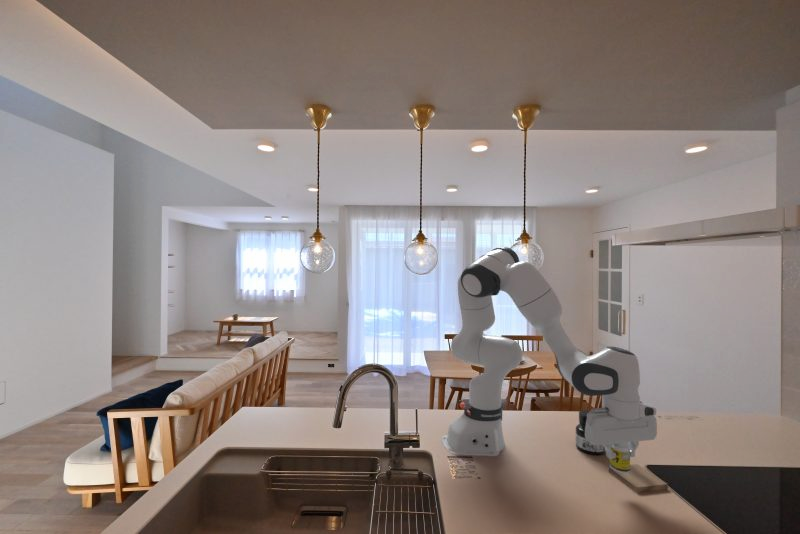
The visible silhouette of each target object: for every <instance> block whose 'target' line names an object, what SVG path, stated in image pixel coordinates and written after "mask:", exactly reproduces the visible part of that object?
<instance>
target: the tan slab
mask: <svg viewBox="0 0 800 534" xmlns="http://www.w3.org/2000/svg"><path fill="white" fill-rule="evenodd" d="M608 473H610V474H611V475H612V476H614V477H615V478H616V479H617V480H619V481H620V482H622V483H623V484H624V485H626V486H627V487H628V488H630V489H631V490H632V491H634V492H635V493H636V494H639V493H647V492H655V491H656V492H657V491H665V490H669V483H667V482H665V481H664V480H662V479H661V478H660V477H658V476H656V475H655V474H653V473H652V472H650V471H649V470H647V469H645V468H644V467H643V466H641V465H640V464H638V463H634V464H630V472H629V473H620V472H617V471H615V470H613V469H612V468H611V467H610V466H608Z"/></svg>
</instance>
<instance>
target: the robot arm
mask: <svg viewBox="0 0 800 534" xmlns="http://www.w3.org/2000/svg"><path fill="white" fill-rule="evenodd" d="M501 291H502V292H505V293H506V294H507V295H508V296H509V297H510V298H511V299H512V301H513V303H514V305H515V306H516V308H517V309H518V310H519V312H520V313H521V316H523V317H524V318H525V320H526V321H528V323H529V324H530V325H531V326H533V327H534V328H535V329H536V330H537V331H539V333H540V334H541V336H543V338H544V340H545V342H546V343H547V345H548V346H549V347H550V349H551V351H552V353H553V354H554V357H555V361H556V368H557V371H558V373H559V375H560V376H561V378H563V379H564V380H565V381H566V382H568V383H569V384H570V385H571V386H572V387H573V388H574V389H575V390H576V391H577V392H579V393H580V394H583V395H586V396H590V397H593V396H594V397H595V396H601V399H602V400H601V407H600V408H592V409H591V410H590V412H589V413H588V414H587V420H586V426H585V438H586V439H587V440H588V441H589V442H590V443H592V444H593V445H596V446H597V445H603V446H604V448H605V453H606V454H605V455H606V457H607V459H609V460H610V459H616V453H615V452H613V451H612V449H611V447H613V444H617V443H624V442H629V448H630V458H635V456H636V451H637V449H638V447H639V445H640V442H643V441H644V442H645V441H653V440H655V439H656V438H657V434H658V422H657V418H656V415H657V408H656V407H654V406H652V405H650V404H648V403H645V402H644V401H641V397H640V394H639V389H640V388H639V387H640V385H641V374H640V373H641V372H640V364H639V358H638V357H637V356H636V355H635V354H634V353H633V352H631V351H630V350H627V349H623V348H620V347H618V346H617V347H616V346H606V347H604V349H602V350H599V351H598V352H597V353H595V354H591V355H587V354H586V353H585V352H584V351H581V350H580V349H579V348H577V347H576V346H575V345H574V343H573V342H572V341H571V339H570V337H569V336H568V333H566V331H565V329H564V328H563V326H562V324H561V320H560V319H561V316H562V313H563V306H562V304H561V302H560V299H559V298H558V296H557V294H556V292H555V290H554V289H553V288H552V286H551V285H550V283H549V282H548V281H547V279H546V278H545V277H544V275H542V273H541V272H540V271H539V269H537V268H536V267H535V266H534V265H533V264H531V263H530V262H528V261H526V260H525V261H520V257H519V256H518V254H517V252H516V251H514V250H513V249H512V248H511V247H508V246H499V247H496V248H493V249H492V250H491V251H488V252H486V253H484V254H482V255H481V256H479V257H478V258H477V259H475V260H474V262H472V263H470V264H468V265H467V266H466V267H465V269H463V271H462V272H461V275H460V276H459V278H458V279H457V296H458V303H459V309H460V312H461V313H460V315H461V320H462V327H461V330H460V331H459V332H458V333H457V334H456V335H455V336H454V337H453V338H452V340H451V344H450V349H451V353H452V356H453V357H454V358H455V359H457V360H458V361H462V362H464V363H467V364H472V365H477V366H482V367H483V373H480V374H477V375H475V376H474V377H472V379H470V382H469V385H468V387H469V391H468V392H469V393H468V399H469V401H468V402H467V403H465V402H463V401H462V402H460V403H459V407H460V408H461V410H463V413H462V414H461V415H460V416H459V417H457V418H456V419H455V420H453V421H452V422H451V423H449V425H448V428H447V429H448V430H447V434H443V435H442V437H441V440H440V441H441V443H442V446H443V447H444V448H445V449H446V451H448V452H449V453H451V455H452V454H453V455H457V456H483V457H484V456H485V457H487V456H488V457H498V456H499V455H500V453H501V451H503V450H504V449H505V448H506V443H505V442H506V441H505V438H504V434H503V426H502V424H503V423H502V421H503V406H502V389H503V383H504V380H505V378H506V377H507V375H508V374H509V373H510V372H511V371H513V370H515V369H516V368H517V367H519V365H520V364H521V362H522V359H523V351H522V347H521V346H520V343H518V341H517V340H514V339H511V338H508V337H505V336H499V335H498V336H497V335H489V334H485V333H484V332H485V331H487V330H489V329H490V328H492V327H493V325H494V324H495V322H496V321H495V320H496V315H495V309H494V303H493V298H492V297H493V296H498V295H499V293H500V292H501ZM591 412H592V413H591Z"/></svg>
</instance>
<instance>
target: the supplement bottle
mask: <svg viewBox="0 0 800 534" xmlns="http://www.w3.org/2000/svg"><path fill="white" fill-rule="evenodd" d="M629 443H630V442H624V443H617V444H613V447H611V449H612V451H613V452H615V453H616V459H609V467H611V468H612V469H613V470H615V471H617V472H620V473H629V472H630V465H631V457H630V448H629Z"/></svg>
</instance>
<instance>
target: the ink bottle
mask: <svg viewBox="0 0 800 534" xmlns="http://www.w3.org/2000/svg"><path fill="white" fill-rule="evenodd" d="M590 411H591V410H590V409H589V410H588V409H581V410H579V412H578V424H577V425H576V426H575V446H576V448H577V449H578V450H579V451H582V452H583V453H587V454H590V455H594V456H600V455H601V456H602V455H603V454H604V453H606V449H605V448H604V446H603V445H597V446H596V445H593V444H592V443H590V442H589V441H588V440H587V439H586V438H585V426H586V420H587V414H588V413H589V412H590ZM591 413H592V412H591Z"/></svg>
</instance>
